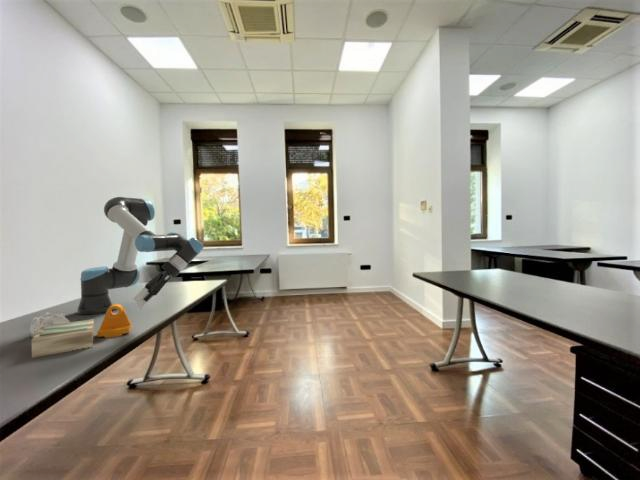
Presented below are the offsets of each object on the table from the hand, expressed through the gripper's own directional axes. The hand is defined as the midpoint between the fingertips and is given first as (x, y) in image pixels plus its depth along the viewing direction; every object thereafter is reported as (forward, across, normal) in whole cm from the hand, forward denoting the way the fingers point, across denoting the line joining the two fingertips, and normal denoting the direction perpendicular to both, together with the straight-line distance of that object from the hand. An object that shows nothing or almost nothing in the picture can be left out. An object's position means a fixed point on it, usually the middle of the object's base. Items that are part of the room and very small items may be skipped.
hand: (136, 303), depth 124 cm
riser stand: (+24, -2, +8) cm, 26 cm away
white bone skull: (+30, +19, +13) cm, 37 cm away
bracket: (+14, +1, -3) cm, 14 cm away
